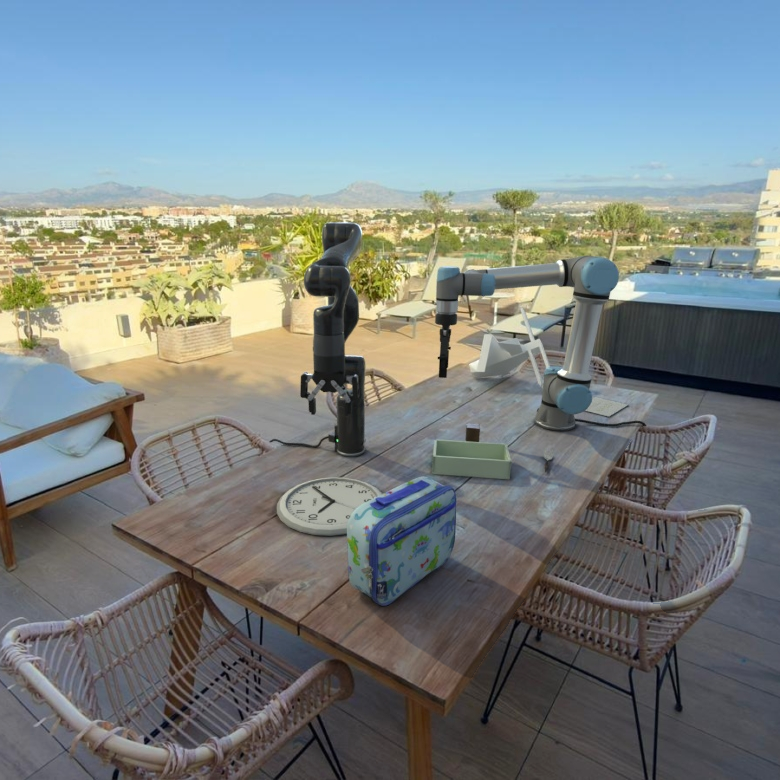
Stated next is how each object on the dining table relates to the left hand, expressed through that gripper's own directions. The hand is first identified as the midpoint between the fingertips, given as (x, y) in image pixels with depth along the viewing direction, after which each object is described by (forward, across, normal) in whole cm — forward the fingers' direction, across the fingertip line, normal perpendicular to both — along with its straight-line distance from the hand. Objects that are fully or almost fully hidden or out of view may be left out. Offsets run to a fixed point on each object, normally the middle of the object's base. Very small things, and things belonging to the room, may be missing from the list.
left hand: (330, 414), depth 130 cm
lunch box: (+28, -21, +24) cm, 42 cm away
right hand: (+5, -28, -60) cm, 67 cm away
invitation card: (+30, -97, -101) cm, 144 cm away
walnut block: (+29, -39, -50) cm, 69 cm away
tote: (+29, -38, -34) cm, 58 cm away
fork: (+29, -63, -39) cm, 79 cm away
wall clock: (+28, +1, -4) cm, 29 cm away
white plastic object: (+30, -60, -129) cm, 146 cm away
